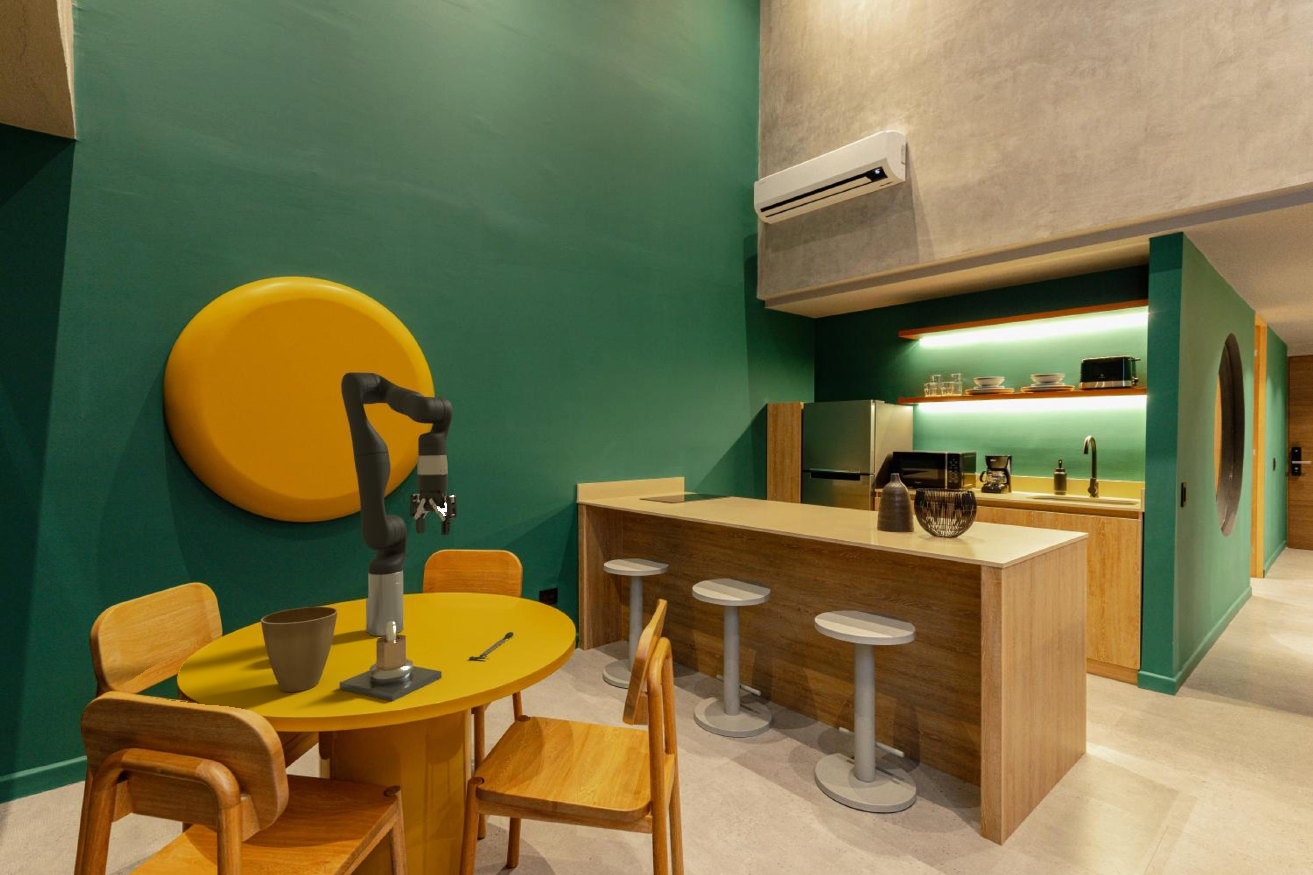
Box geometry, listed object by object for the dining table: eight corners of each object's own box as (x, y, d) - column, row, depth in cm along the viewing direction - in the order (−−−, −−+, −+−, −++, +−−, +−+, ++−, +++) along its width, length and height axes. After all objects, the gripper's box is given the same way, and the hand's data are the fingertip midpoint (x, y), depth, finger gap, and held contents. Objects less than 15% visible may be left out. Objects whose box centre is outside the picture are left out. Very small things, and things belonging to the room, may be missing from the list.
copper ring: (370, 667, 138) (370, 640, 138) (392, 659, 144) (392, 633, 144) (390, 671, 136) (390, 644, 136) (411, 662, 141) (411, 636, 141)
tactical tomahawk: (492, 666, 153) (492, 662, 153) (468, 662, 154) (468, 657, 154) (529, 638, 173) (529, 634, 173) (507, 635, 174) (507, 631, 174)
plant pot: (341, 688, 137) (341, 616, 137) (261, 704, 129) (261, 627, 129) (334, 668, 149) (333, 602, 149) (260, 682, 141) (260, 611, 141)
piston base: (339, 689, 137) (339, 625, 137) (390, 667, 149) (390, 609, 149) (392, 701, 130) (392, 634, 130) (441, 677, 143) (441, 616, 143)
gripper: (401, 473, 163) (401, 534, 163) (442, 473, 157) (443, 537, 157) (423, 471, 170) (423, 530, 170) (463, 472, 164) (464, 533, 164)
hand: (433, 534), depth 164 cm, fingers open, 8 cm apart
